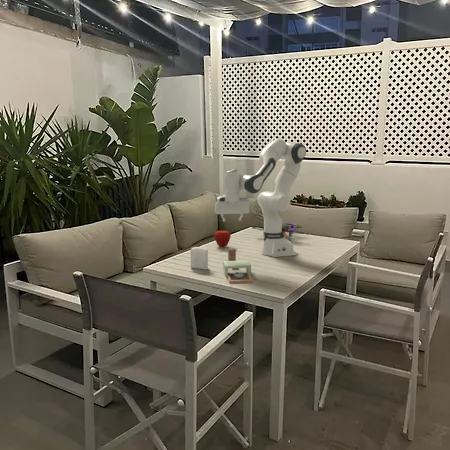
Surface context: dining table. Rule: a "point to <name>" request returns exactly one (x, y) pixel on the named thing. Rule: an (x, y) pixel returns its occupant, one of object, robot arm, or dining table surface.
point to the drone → (286, 228)
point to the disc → (238, 275)
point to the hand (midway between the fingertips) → (232, 221)
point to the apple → (222, 238)
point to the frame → (240, 280)
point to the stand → (236, 266)
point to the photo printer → (199, 258)
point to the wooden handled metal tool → (232, 255)
